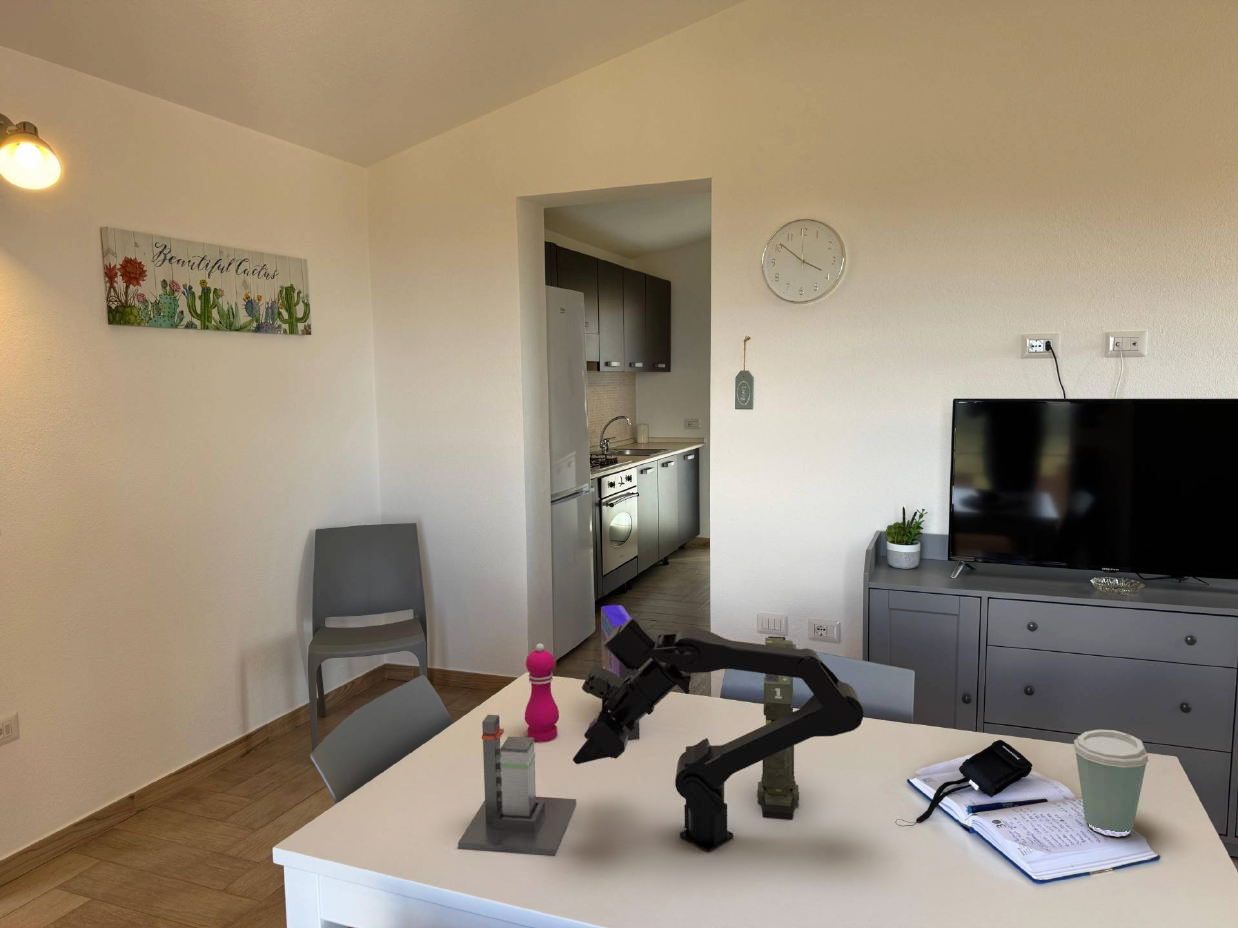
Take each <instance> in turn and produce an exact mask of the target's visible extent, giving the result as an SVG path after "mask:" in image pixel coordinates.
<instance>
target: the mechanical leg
mask: <svg viewBox="0 0 1238 928" xmlns="http://www.w3.org/2000/svg"><path fill="white" fill-rule="evenodd" d="M764 641H765V644H764V645H771V646H779V647H787V648H795V649H797V645H796V643H794V642H793V641H792V640H790V639H789V640H787V639H786V637H785V636H770V635H769V636H768V637H765V640H764ZM792 712H794V677H788V676H780V675H772V674H765V677H764V678H763V716H765V725H767V724H769V723H771V722H773V721H775V720H777V719H779V718H782V717H784V716H786V715H788V714H790V713H792ZM756 790H757V791H756V792H757V793H756V795H757V796H756V797H757V803H758V804H760V807H761V814H762V815H761V816H762V818H764V819H765V818H766V819H775V820H776V819H777V820H788V821H792V820H794V817H795V816H794V815H795V810H796V807H798V806H799V801H800V792H799V784H797V783H796V778H795V745H794V746H792V747H790V748H788V749H785V750H783V751H781V752H779V753H777V754H775V755H772V756H770V757H768V758H766V759H764V760H762V774H761V779H760V781H758V782H757V789H756Z"/></svg>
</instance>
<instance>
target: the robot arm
mask: <svg viewBox="0 0 1238 928" xmlns="http://www.w3.org/2000/svg"><path fill="white" fill-rule="evenodd" d="M630 618H631V619H630V620H628V621H626V622H625V623H623V624H622V625H621V624H620V625H619V626H618V627H617V628H616V629H615V630H614V631H613V632H612V633H611V634H610V635H609V636H608V638H607V639H606V640H605V642H604V643H603V645H604V646H605V647H606V648H607V649H608V650H609V651H610V652H611V653H612V654H613V655H614V656H615V657H616V659H617V660H618V661H619V662H620V663H621V664H622V665H623V666H624V667H625V668H626V669H631V670H632V671H633V670H634V669H636V670H638V673H637V674H636V675H635V676H633V675H632V676H630V675H629V676H628V677H627V678H626V679H624V680H623V679H622V678H620V677H618V676H617V675H616V674H614V673H612V672H610V671H608V670H606V669H604V668H602V666H600V665H598V664H593V665H592V666H591V668H590V670H589V672H588V674H587V676H586V678H585V680H584V682H583V685H582V686H581V690H582V691H583V692H585V693H587V694H588V695H589V694H590V695H592V696H594V697H596V698H597V699H601V710H600V711H599V712H598V714H597V716H595V718H594V719H593V720H592V721H591V722H589V723H590V724H589V725H588V728H587V729H586V731H585V733H584V735H583V736H584V737H585V739H586V740H585V742H584V743H583V744H582V746H581V747H580V748H579V750H578V751H577V752H576V754H575V755H574V756H573V758H572V762H573V763H575V765H581V764H584V763H589V762H592V761H593V762H594V761H597V760H600V759H601V760H602V759H607V758H610V759H615V760H617V759H618V758H619V757H620V756H622V754H623V753H625V751H626V748H627V745H628V741H629V740H628V734H627V733H626V732H625V731H624V730H623V728H624V726H626V727H627V728H628V729H629V730H630V731H632V730H633V729H634V728H635V727H636V724H637V722H638V721H639V722H640V720H641V719H642V718H644V717H645V716H646V715H648V716H649V715H651V714H652V713H653V712H654V710H655V707H656V706H657V705H658V704H659V703H660V702H661V701H662V700H663V699H664V698H665V697H667V696H668V695H669V694H670V693H671V692H672V691H674V690H675V689H676V688H677V687H678V688H680V689H681V690H682V691H683V693H685V694H686V695H688V694H689V693H690V692H691V687H692V686H691V679H692V675H693V674H699V673H700V674H702V673H703V674H704V673H712V672H716V671H720V670H733V671H742V672H750V673H756V674H757V673H759V674H772V675H780V676H788V677H793V678H796V679H801V680H802V681H803V682H804V683H805V684H806V686H807V687H808V688H809V690H810V691H811V693H812V694H813V695H812V696H811V697H810V698H809V699H808V700H806V702H805V703H804V704H803V705H802V706H801V707H800V708H799V709H797V710H793V712H792V713H790V714H788V715H786V716H784V717H782V718H779V719H777V720H775V721H773V722H771V723H769V724H767V725H766V724H765V725H762V726H761V727H758V728H756V729H754V730H752V731H750V732H748V733H746V734H743V735H741V736H739V737H736V738H735V739H733V740H731V741H729V742H726V743H724V744H720V745H714V744H713V745H711V743H710V741H709V739H708V737H707V738H705V739H702V740H701V741H700V742H698V743H697V744H694V745H690V746H689V745H688V746H686V747H685V751H684V752H682V753H681V754H680V756H679V758H678V761H677V766H676V771H675V772H676V773H675V779H674V781H675V782H674V786H675V788H676V792H677V793H678V794H679V795H680V797H682V798H684V799H685V804H684V806H683V808H684V830H683V831H681V832H679V838H681V839H683V840H685V841H686V842H688V843H691V844H692V845H694V846H696V847H698V848H699V849H702V850H704V851H706V852H712V851H714V849H717V848H718V847H719V846H722V845H723V844H726V842H728V841H730V840H732V839H733V838H734V837H735V836H734V832H731V831H729V830H728V803H726V802H725V783H726V782H727V780H728V779H729V778H731V776H732V775H734V774H735V773H738V772H740V771H742V770H745V769H746V768H748V767H750V766H751V767H752V766H753V765H756V764H757V763H759V762H761V761H762V762H763V760H764V759H766V758H768V757H770V756H772V755H775V754H777V753H779V752H781V751H783V750H785V749H788V748H790V747H792V746H794V747H795V746H796V745H798V744H800V743H802V742H804V741H807V740H809V739H811V738H817V737H820V738H821V737H836V736H838V735H839V736H840V735H843V734H846V733H851V732H854V731H855V730H856V729H858V728H860V726H861V724H862V721H863V719H864V709H863V706H862V704H861V701H860V698H859V696H858V694H857V693H858V692H857V691H856V689H855V688H854V687H853V686H852V685H851V684H849V683H846V682H843V681H841V680H840V679H839V678H838V677H837V676H836V674H835V673H834V672H833V671H832V670H831V669H830V667H828V666H827V664H825V663H824V662H823V661H822V660H821V658H820V657H819V655H818V653H817V652H816V651H815V650H813V649H810V648H796V649H795V648H787V647H779V646H771V645H765V644H761V643H754V642H753V643H752V642H744V641H737V640H731V639H727V638H724V637H722V636H720V635H718V634H716V633H714V632H712V631H708V630H705V629H701V628H699V627H695V626H686V627H683V628H682V629H680V630H679V631H678V632H674V633H671V632H670V633H662V634H656V636H655V637H654V636H653V634H652V633H651V632H650V631H649V630H647V628H646V627H645V626H644V625H643V624H642V622H641V621H640V620H639V619H638V617H636V615H633V616H631V617H630ZM650 659H651V660H650ZM649 660H650V661H649ZM648 661H649V662H648ZM646 663H647V664H646ZM645 664H646V665H645ZM644 665H645V666H644ZM641 668H642V669H641Z"/></svg>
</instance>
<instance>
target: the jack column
mask: <svg viewBox="0 0 1238 928" xmlns="http://www.w3.org/2000/svg"><path fill="white" fill-rule="evenodd" d="M500 749H501V777H502V806H503V817H511V818H526V819H531V817H532V815H533V813H534V811H535V809H536V797H537V791H536V788H537V786H536V759H535V758H536V752H535V751H536V750H535V741H534V738H528V736H526V737H525V736H507V738H506V740H504V742H503V744H502V745H501V746H500Z"/></svg>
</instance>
